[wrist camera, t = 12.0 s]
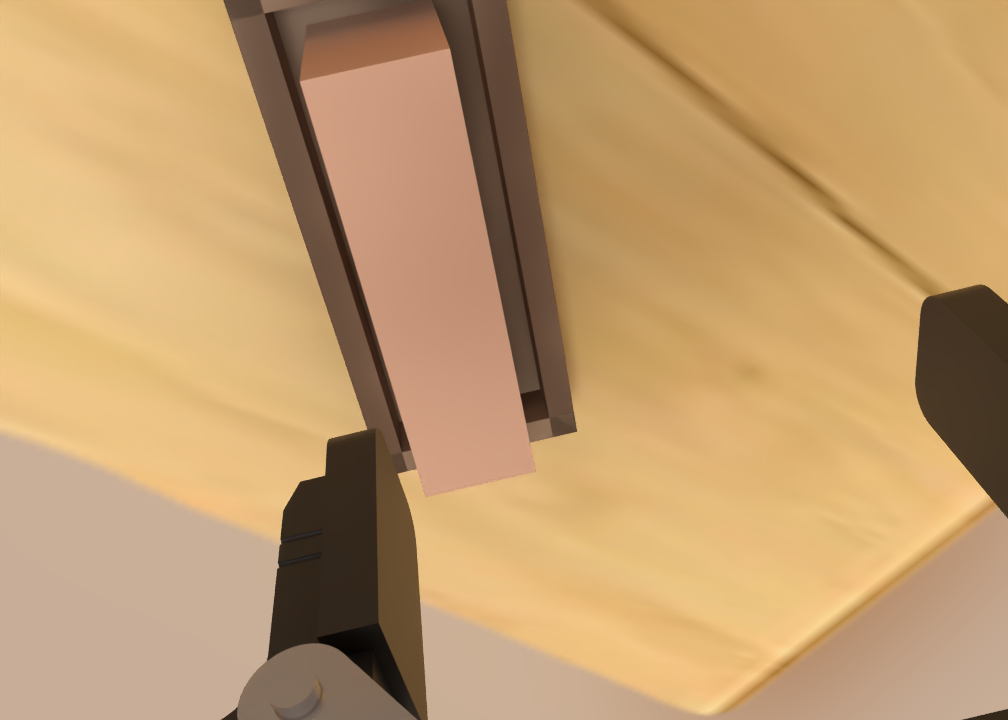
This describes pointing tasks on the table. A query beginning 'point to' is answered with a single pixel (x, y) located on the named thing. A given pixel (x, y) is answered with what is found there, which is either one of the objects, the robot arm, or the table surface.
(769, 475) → the table surface
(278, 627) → the robot arm
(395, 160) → the clay strip
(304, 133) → the tray
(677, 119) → the table surface
